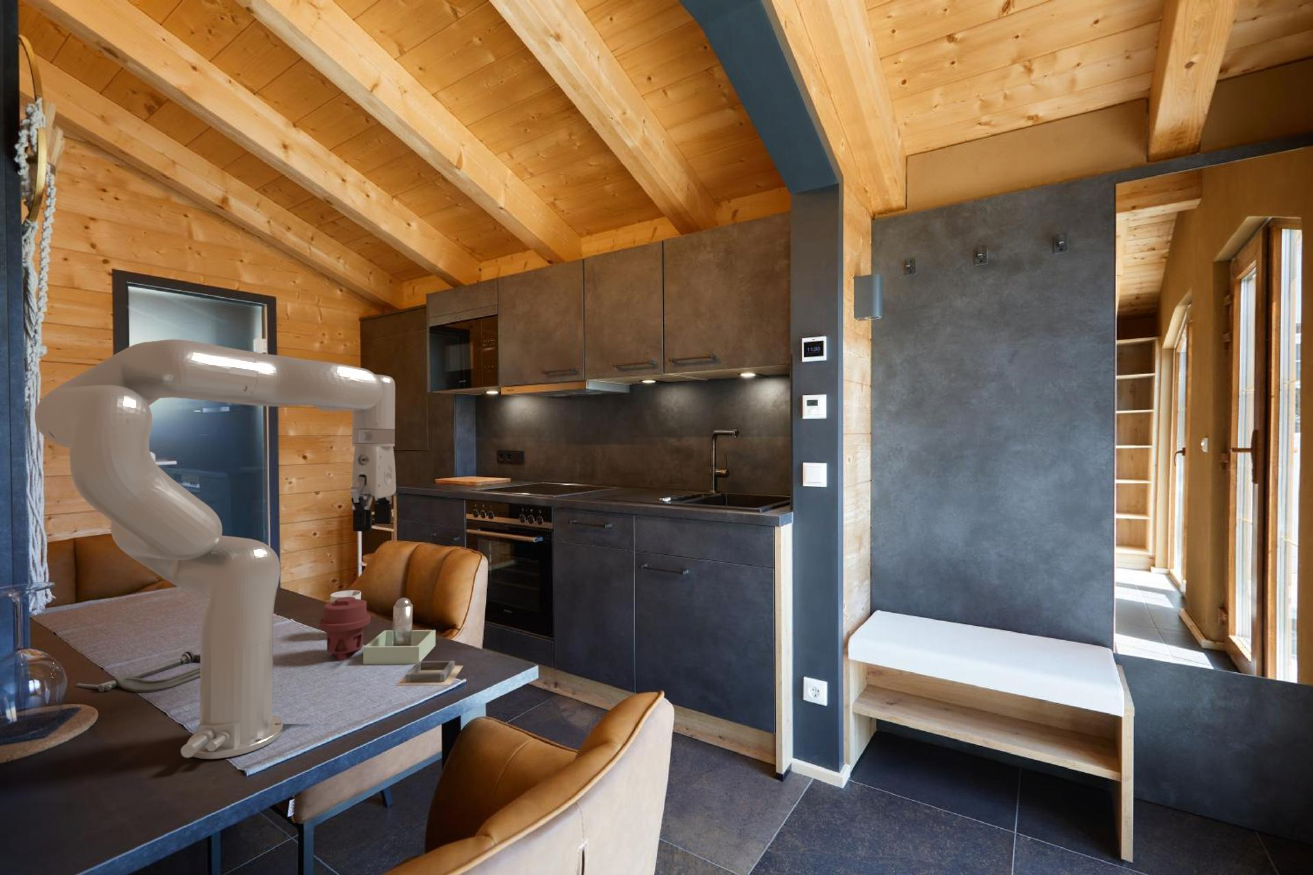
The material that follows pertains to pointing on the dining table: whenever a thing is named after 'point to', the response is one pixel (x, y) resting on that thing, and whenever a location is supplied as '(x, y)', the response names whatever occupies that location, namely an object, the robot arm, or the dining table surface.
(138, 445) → the robot arm
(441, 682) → the socket pad
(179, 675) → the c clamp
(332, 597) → the white cup
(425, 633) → the bin
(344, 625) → the mechanical component
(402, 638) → the grey rounded tall piece
